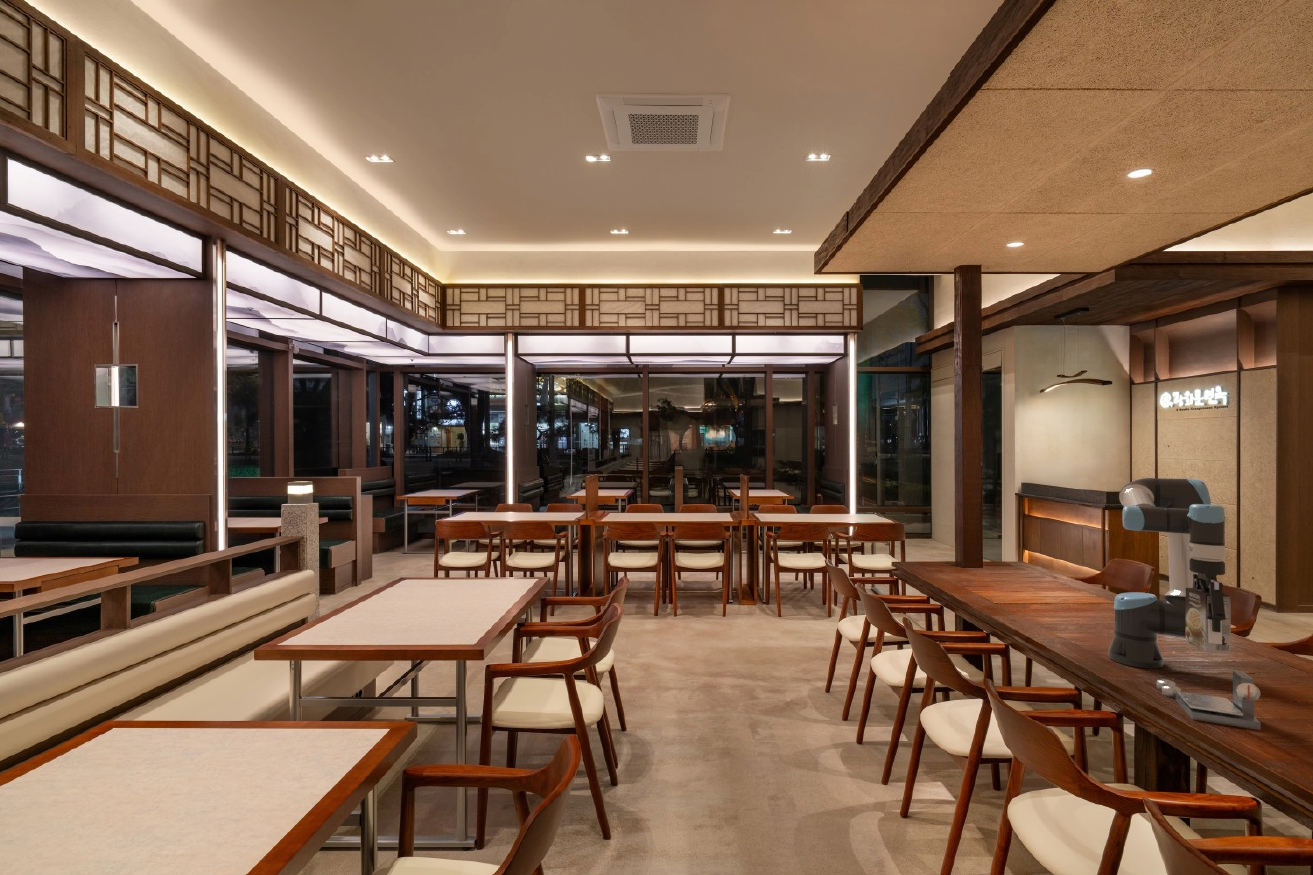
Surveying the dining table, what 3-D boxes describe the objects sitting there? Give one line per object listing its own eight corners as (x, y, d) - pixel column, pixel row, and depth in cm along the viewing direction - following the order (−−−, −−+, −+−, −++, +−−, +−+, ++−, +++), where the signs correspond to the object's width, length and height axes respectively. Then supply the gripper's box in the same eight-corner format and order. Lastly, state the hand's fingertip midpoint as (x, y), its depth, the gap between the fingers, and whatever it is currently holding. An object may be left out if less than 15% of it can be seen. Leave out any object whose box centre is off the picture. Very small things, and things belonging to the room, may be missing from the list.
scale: (1175, 699, 179) (1175, 659, 179) (1243, 710, 172) (1243, 667, 172) (1192, 719, 166) (1192, 675, 166) (1266, 731, 159) (1266, 685, 159)
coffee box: (1184, 642, 176) (1183, 586, 177) (1209, 644, 175) (1209, 588, 176) (1205, 652, 167) (1205, 593, 168) (1232, 654, 166) (1232, 595, 167)
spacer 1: (1154, 685, 190) (1154, 677, 190) (1172, 688, 188) (1172, 680, 188) (1159, 690, 186) (1159, 682, 186) (1177, 693, 184) (1177, 685, 184)
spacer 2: (1159, 691, 185) (1159, 683, 185) (1178, 694, 183) (1178, 685, 183) (1164, 696, 181) (1164, 688, 181) (1183, 699, 179) (1183, 691, 179)
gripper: (1176, 552, 184) (1177, 626, 183) (1204, 563, 164) (1205, 647, 163) (1209, 554, 181) (1209, 629, 180) (1241, 566, 160) (1242, 651, 160)
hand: (1207, 638), depth 171 cm, fingers closed on coffee box, 10 cm apart
